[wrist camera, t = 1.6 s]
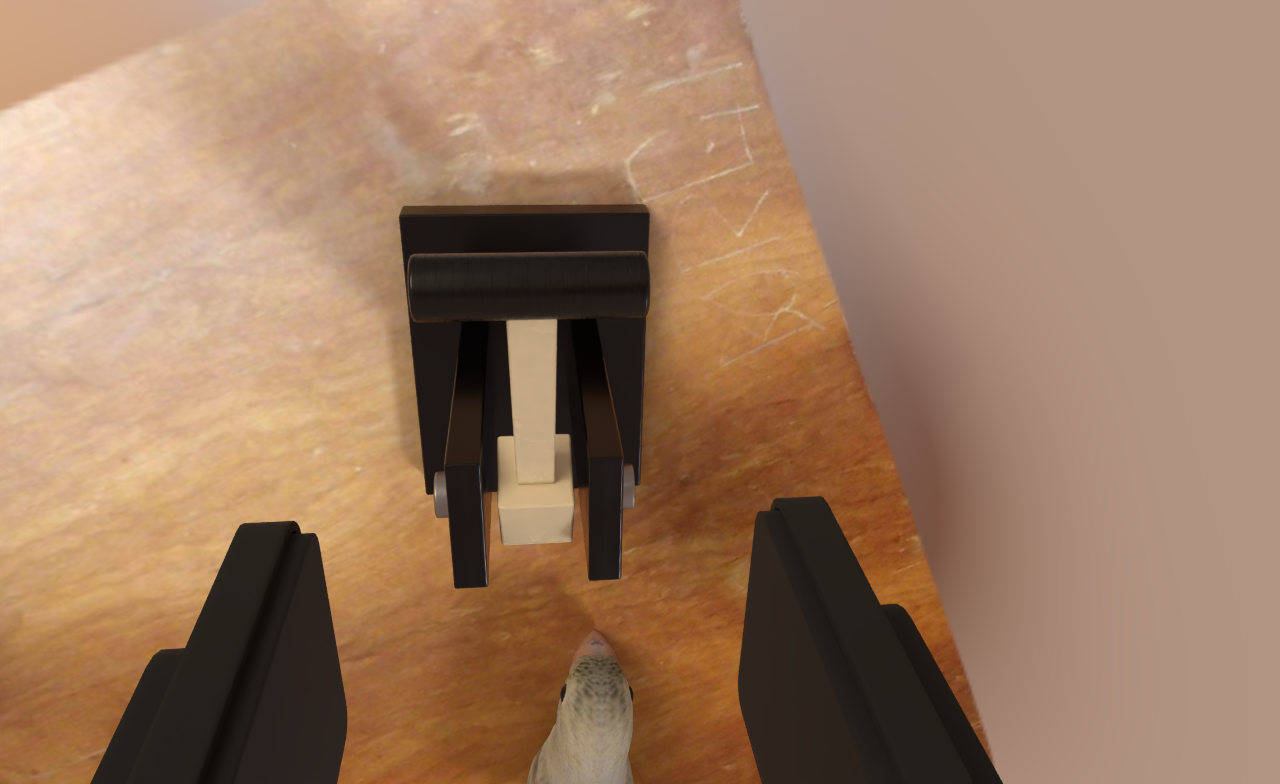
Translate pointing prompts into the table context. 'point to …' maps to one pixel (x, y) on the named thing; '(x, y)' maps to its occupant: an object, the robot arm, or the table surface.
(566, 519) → the lever handle
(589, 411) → the lever stand
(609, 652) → the decorative bird
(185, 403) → the table surface
